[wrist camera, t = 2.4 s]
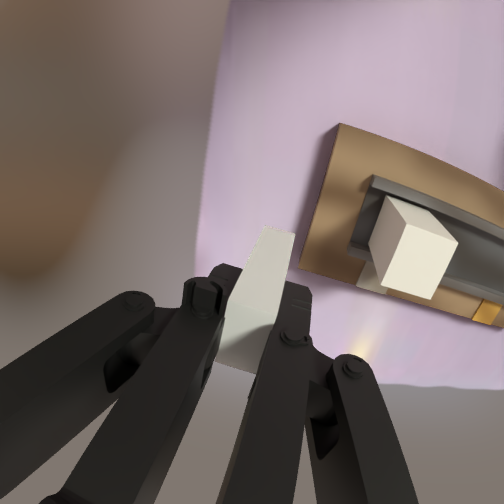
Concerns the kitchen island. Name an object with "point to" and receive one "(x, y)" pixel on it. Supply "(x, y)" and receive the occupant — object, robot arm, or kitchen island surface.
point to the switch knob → (410, 248)
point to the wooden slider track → (419, 194)
